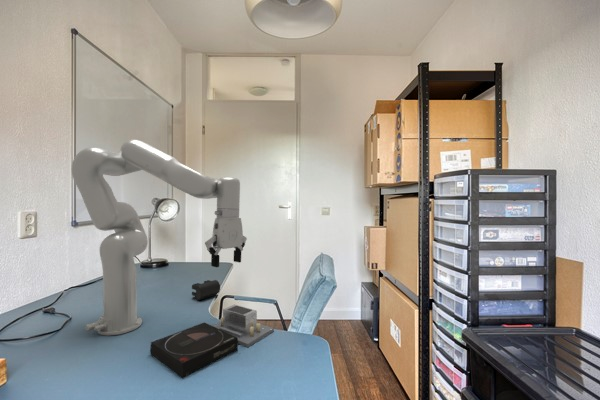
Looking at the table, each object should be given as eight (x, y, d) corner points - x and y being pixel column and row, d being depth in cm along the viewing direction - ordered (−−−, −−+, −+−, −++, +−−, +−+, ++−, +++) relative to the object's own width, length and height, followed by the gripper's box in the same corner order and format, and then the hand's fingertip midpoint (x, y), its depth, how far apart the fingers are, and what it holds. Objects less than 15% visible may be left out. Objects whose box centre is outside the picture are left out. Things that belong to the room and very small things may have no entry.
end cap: (201, 302, 120) (201, 286, 120) (190, 299, 124) (190, 283, 124) (220, 296, 128) (220, 280, 128) (210, 293, 132) (210, 278, 132)
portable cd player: (203, 334, 93) (203, 321, 93) (237, 351, 82) (237, 337, 82) (150, 356, 80) (150, 341, 80) (182, 380, 69) (182, 363, 69)
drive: (245, 335, 88) (245, 315, 88) (223, 327, 94) (223, 308, 94) (256, 329, 93) (256, 310, 93) (234, 322, 98) (234, 304, 98)
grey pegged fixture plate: (247, 347, 83) (247, 335, 83) (206, 332, 93) (206, 321, 93) (273, 331, 93) (273, 320, 93) (233, 319, 103) (233, 309, 103)
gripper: (214, 215, 90) (213, 270, 90) (253, 213, 104) (252, 261, 104) (199, 214, 94) (198, 267, 94) (239, 213, 108) (237, 258, 108)
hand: (226, 264), depth 99 cm, fingers open, 9 cm apart
